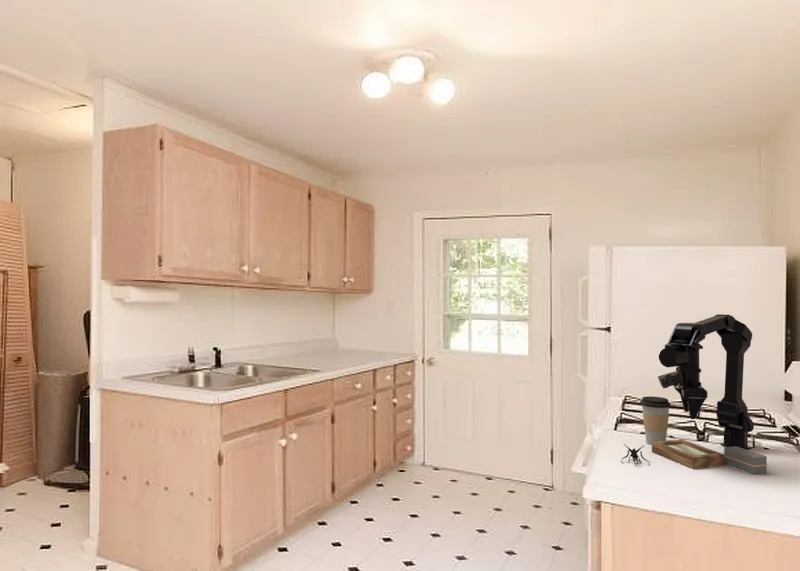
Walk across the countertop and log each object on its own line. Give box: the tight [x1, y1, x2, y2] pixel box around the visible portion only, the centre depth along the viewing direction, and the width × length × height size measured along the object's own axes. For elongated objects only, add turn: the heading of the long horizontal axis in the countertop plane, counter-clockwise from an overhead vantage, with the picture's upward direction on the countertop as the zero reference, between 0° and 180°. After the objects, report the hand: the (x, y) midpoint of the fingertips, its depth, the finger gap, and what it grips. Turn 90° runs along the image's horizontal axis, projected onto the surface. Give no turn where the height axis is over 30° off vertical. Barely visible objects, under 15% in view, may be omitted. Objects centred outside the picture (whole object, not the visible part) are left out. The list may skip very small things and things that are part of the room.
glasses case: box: [723, 446, 768, 476], centre depth 156 cm, size 4×10×5 cm, turn 16°
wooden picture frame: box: [651, 438, 727, 470], centre depth 166 cm, size 12×16×3 cm
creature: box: [620, 443, 651, 466], centre depth 162 cm, size 8×5×8 cm
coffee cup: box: [639, 395, 672, 446], centre depth 182 cm, size 9×9×15 cm
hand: (689, 415), depth 165 cm, fingers open, 9 cm apart
